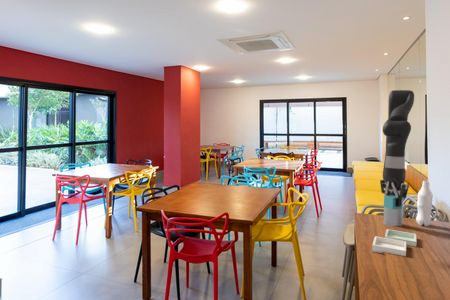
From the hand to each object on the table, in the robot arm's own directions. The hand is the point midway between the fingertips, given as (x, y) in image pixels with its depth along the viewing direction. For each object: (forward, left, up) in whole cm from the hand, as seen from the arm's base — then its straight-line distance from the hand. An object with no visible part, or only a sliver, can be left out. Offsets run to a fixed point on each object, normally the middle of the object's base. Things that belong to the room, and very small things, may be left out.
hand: (392, 205), depth 133 cm
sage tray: (-14, -4, -20) cm, 25 cm away
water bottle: (-51, -13, -20) cm, 57 cm away
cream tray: (+1, 0, -20) cm, 20 cm away
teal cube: (0, 0, -1) cm, 1 cm away
